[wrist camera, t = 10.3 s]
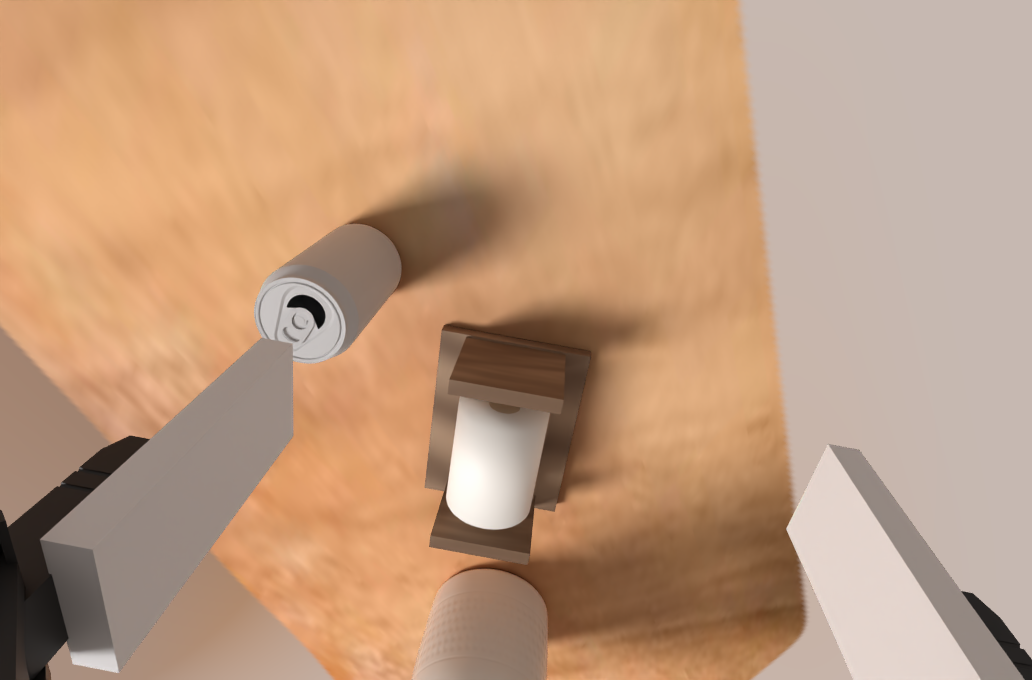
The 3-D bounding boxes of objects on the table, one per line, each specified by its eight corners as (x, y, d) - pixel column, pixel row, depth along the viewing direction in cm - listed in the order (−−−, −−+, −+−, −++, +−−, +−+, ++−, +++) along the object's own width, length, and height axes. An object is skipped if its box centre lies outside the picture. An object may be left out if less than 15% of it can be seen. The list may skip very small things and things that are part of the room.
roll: (468, 375, 49) (451, 418, 42) (552, 391, 48) (547, 437, 42) (455, 468, 52) (437, 520, 46) (533, 483, 52) (526, 538, 45)
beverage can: (420, 255, 46) (371, 316, 35) (377, 314, 48) (318, 388, 37) (350, 203, 44) (277, 249, 34) (309, 267, 47) (229, 328, 36)
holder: (444, 325, 48) (420, 371, 41) (590, 351, 48) (593, 402, 40) (427, 480, 55) (404, 544, 48) (554, 504, 55) (551, 571, 47)
